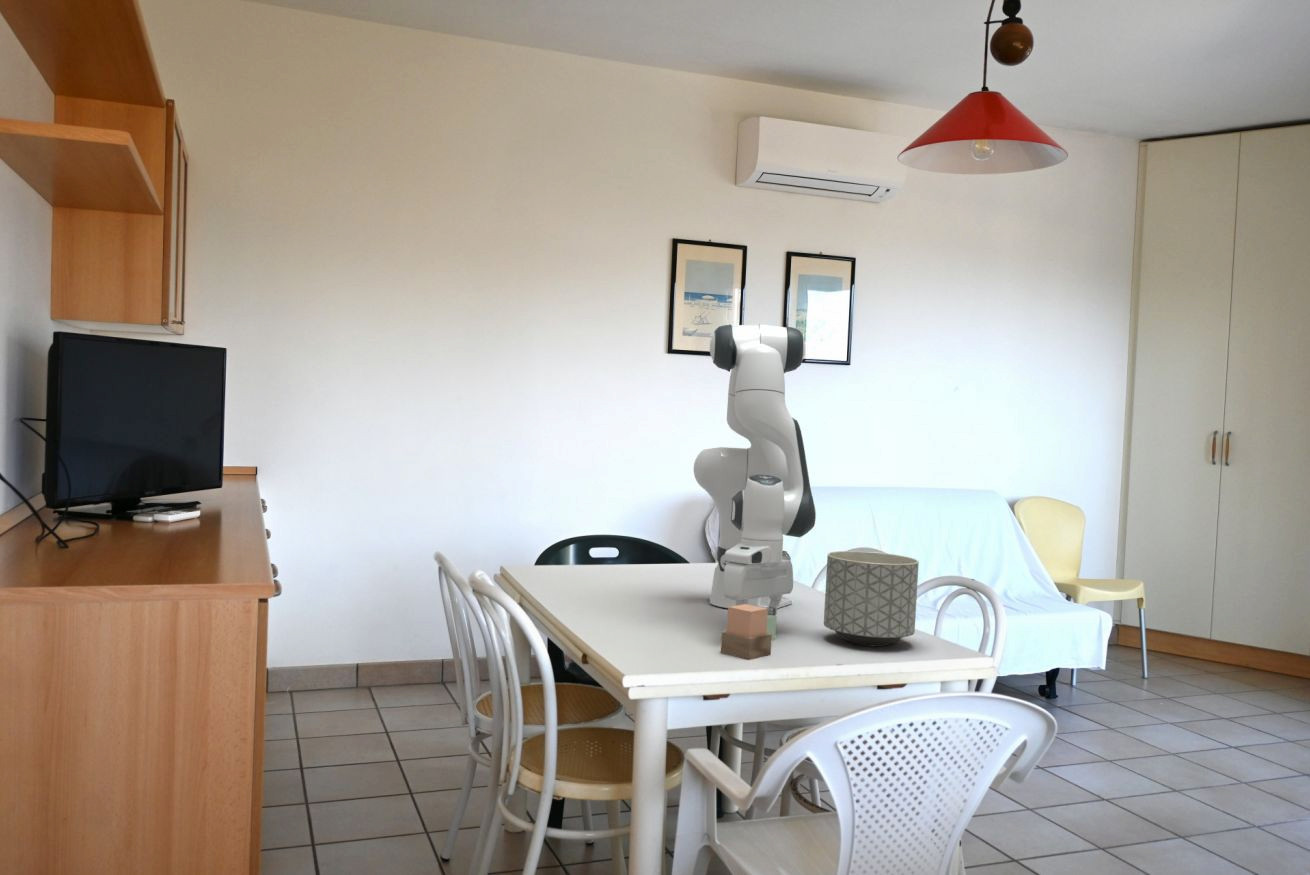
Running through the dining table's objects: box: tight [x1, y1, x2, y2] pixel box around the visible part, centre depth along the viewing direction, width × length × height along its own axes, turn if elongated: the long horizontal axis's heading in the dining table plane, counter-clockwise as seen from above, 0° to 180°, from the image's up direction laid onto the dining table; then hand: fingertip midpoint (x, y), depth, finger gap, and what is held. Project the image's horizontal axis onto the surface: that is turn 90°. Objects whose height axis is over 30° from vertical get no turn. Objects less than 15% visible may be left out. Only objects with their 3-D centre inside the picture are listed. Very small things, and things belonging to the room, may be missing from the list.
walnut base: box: [720, 630, 772, 660], centre depth 196 cm, size 7×7×4 cm
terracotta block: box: [726, 604, 768, 637], centre depth 196 cm, size 6×6×5 cm
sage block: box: [766, 614, 777, 641], centre depth 211 cm, size 6×6×5 cm
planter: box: [823, 550, 920, 647], centre depth 213 cm, size 19×19×18 cm
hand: (757, 618), depth 210 cm, fingers open, 8 cm apart
